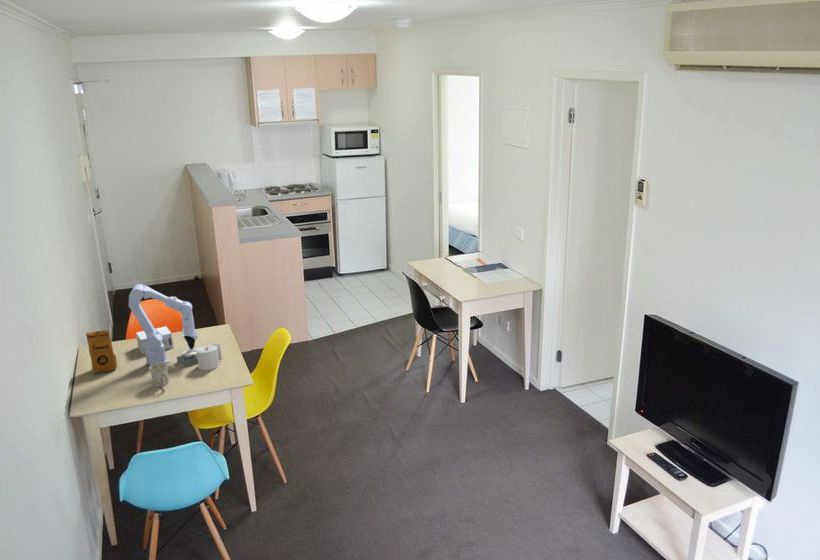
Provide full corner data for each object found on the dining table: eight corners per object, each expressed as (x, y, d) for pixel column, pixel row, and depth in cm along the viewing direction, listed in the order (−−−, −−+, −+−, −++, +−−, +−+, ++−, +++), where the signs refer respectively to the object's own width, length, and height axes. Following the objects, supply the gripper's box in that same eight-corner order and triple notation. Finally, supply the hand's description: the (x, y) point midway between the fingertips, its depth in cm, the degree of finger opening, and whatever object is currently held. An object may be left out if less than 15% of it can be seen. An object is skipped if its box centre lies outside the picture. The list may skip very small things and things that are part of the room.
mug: (164, 378, 335) (161, 361, 332) (177, 385, 327) (175, 367, 324) (149, 385, 329) (146, 366, 325) (162, 392, 321) (159, 373, 318)
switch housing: (185, 367, 347) (183, 358, 345) (177, 362, 354) (176, 353, 352) (204, 360, 354) (203, 352, 353) (196, 355, 361) (195, 347, 359)
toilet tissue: (194, 370, 344) (192, 352, 341) (204, 360, 355) (202, 343, 352) (214, 370, 343) (212, 353, 339) (223, 360, 354) (221, 343, 351)
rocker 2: (187, 356, 348) (187, 354, 348) (184, 355, 350) (184, 352, 350) (197, 355, 352) (197, 353, 352) (195, 354, 354) (195, 351, 354)
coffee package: (117, 371, 344) (110, 332, 337) (91, 375, 340) (83, 336, 333) (119, 364, 353) (112, 326, 346) (93, 367, 349) (86, 329, 342)
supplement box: (142, 355, 363) (140, 339, 360) (137, 347, 374) (135, 332, 371) (174, 348, 372) (171, 332, 369) (168, 340, 382) (166, 325, 380)
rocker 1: (184, 356, 352) (183, 354, 351) (181, 354, 354) (181, 352, 353) (194, 350, 355) (193, 348, 354) (191, 349, 357) (191, 347, 356)
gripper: (201, 326, 348) (204, 349, 353) (189, 319, 359) (192, 342, 363) (189, 329, 344) (192, 353, 348) (177, 322, 354) (180, 345, 358)
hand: (191, 348), depth 355 cm, fingers closed
